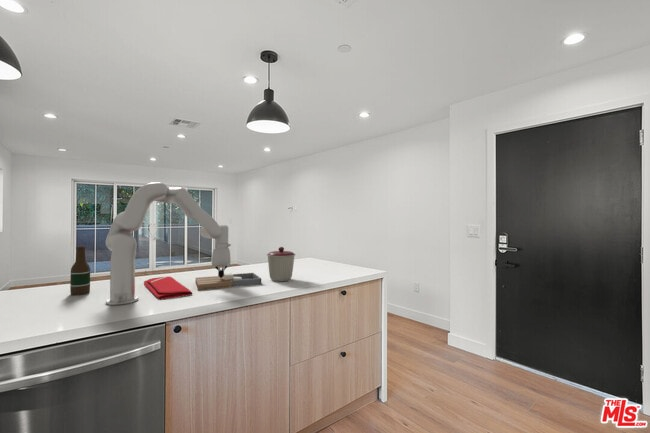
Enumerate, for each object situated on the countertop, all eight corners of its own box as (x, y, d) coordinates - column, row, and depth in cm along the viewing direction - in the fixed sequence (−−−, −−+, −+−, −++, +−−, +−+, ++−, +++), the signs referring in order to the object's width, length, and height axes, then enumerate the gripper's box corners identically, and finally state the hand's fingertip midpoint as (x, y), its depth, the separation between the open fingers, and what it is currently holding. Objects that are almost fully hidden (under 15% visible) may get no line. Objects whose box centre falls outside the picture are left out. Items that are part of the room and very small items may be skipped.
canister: (267, 283, 180) (267, 248, 180) (265, 277, 198) (266, 245, 198) (297, 282, 185) (297, 248, 185) (293, 276, 202) (293, 245, 202)
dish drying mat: (157, 300, 143) (157, 292, 143) (142, 285, 175) (142, 278, 175) (192, 295, 153) (192, 288, 153) (172, 281, 185) (172, 275, 185)
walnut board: (232, 287, 171) (232, 281, 171) (198, 290, 163) (198, 284, 163) (226, 280, 189) (226, 275, 189) (195, 282, 181) (195, 277, 181)
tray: (261, 284, 179) (261, 278, 179) (233, 286, 171) (233, 280, 171) (253, 278, 196) (253, 272, 196) (227, 280, 189) (227, 274, 189)
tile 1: (233, 279, 178) (233, 274, 178) (224, 279, 176) (224, 275, 176) (232, 277, 183) (232, 273, 183) (223, 278, 181) (223, 273, 181)
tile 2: (241, 282, 181) (242, 278, 181) (233, 282, 178) (233, 278, 178) (240, 280, 185) (240, 276, 185) (231, 280, 183) (232, 276, 183)
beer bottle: (78, 296, 148) (79, 247, 148) (66, 295, 150) (66, 246, 150) (93, 292, 156) (94, 245, 156) (81, 291, 157) (82, 245, 158)
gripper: (233, 245, 185) (232, 275, 185) (207, 246, 178) (206, 277, 178) (235, 246, 178) (235, 277, 178) (208, 247, 171) (208, 279, 171)
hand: (221, 277), depth 178 cm, fingers closed
